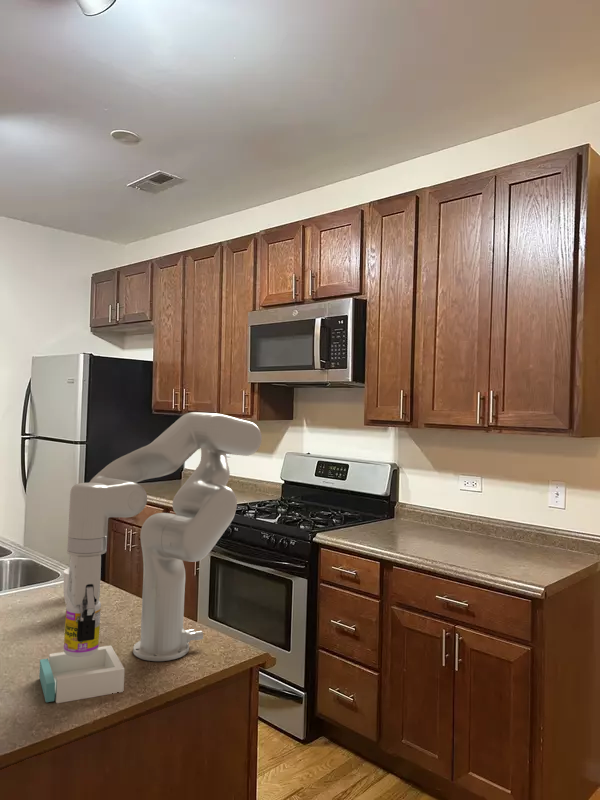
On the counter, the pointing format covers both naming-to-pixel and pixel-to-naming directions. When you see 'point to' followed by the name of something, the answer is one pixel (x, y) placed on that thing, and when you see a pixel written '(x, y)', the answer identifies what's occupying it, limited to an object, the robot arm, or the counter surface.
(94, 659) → the housing
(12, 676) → the counter surface
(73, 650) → the supplement bottle
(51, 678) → the gate
